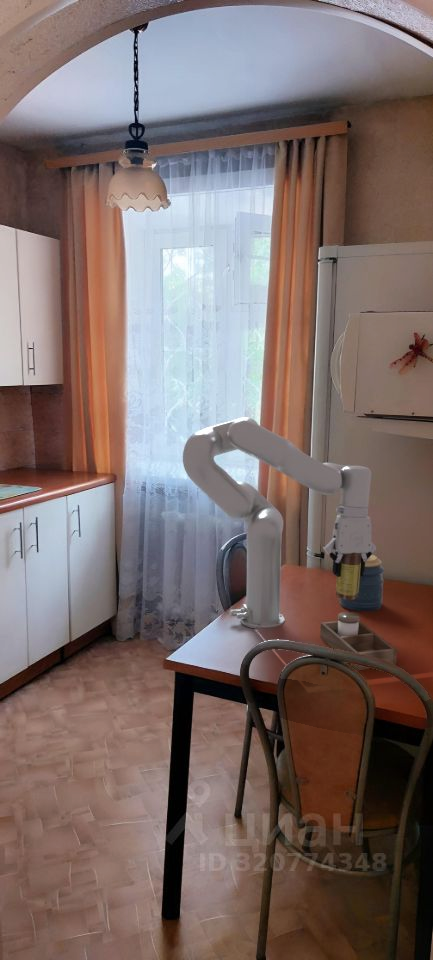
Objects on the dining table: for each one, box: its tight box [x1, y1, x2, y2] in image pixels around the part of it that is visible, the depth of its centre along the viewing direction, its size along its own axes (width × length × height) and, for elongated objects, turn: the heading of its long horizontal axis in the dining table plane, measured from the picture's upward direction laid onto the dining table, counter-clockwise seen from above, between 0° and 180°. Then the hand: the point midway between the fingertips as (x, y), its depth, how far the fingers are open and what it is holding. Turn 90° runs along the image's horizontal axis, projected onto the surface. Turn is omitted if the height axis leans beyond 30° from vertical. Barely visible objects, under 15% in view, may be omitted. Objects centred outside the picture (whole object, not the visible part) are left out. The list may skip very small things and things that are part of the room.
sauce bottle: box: [335, 553, 361, 600], centre depth 182 cm, size 6×6×20 cm
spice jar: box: [337, 611, 360, 637], centre depth 172 cm, size 5×5×7 cm
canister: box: [338, 554, 385, 612], centre depth 202 cm, size 13×13×18 cm
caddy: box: [319, 620, 398, 671], centre depth 167 cm, size 11×20×5 cm, turn 15°
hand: (348, 574), depth 182 cm, fingers closed on sauce bottle, 6 cm apart
